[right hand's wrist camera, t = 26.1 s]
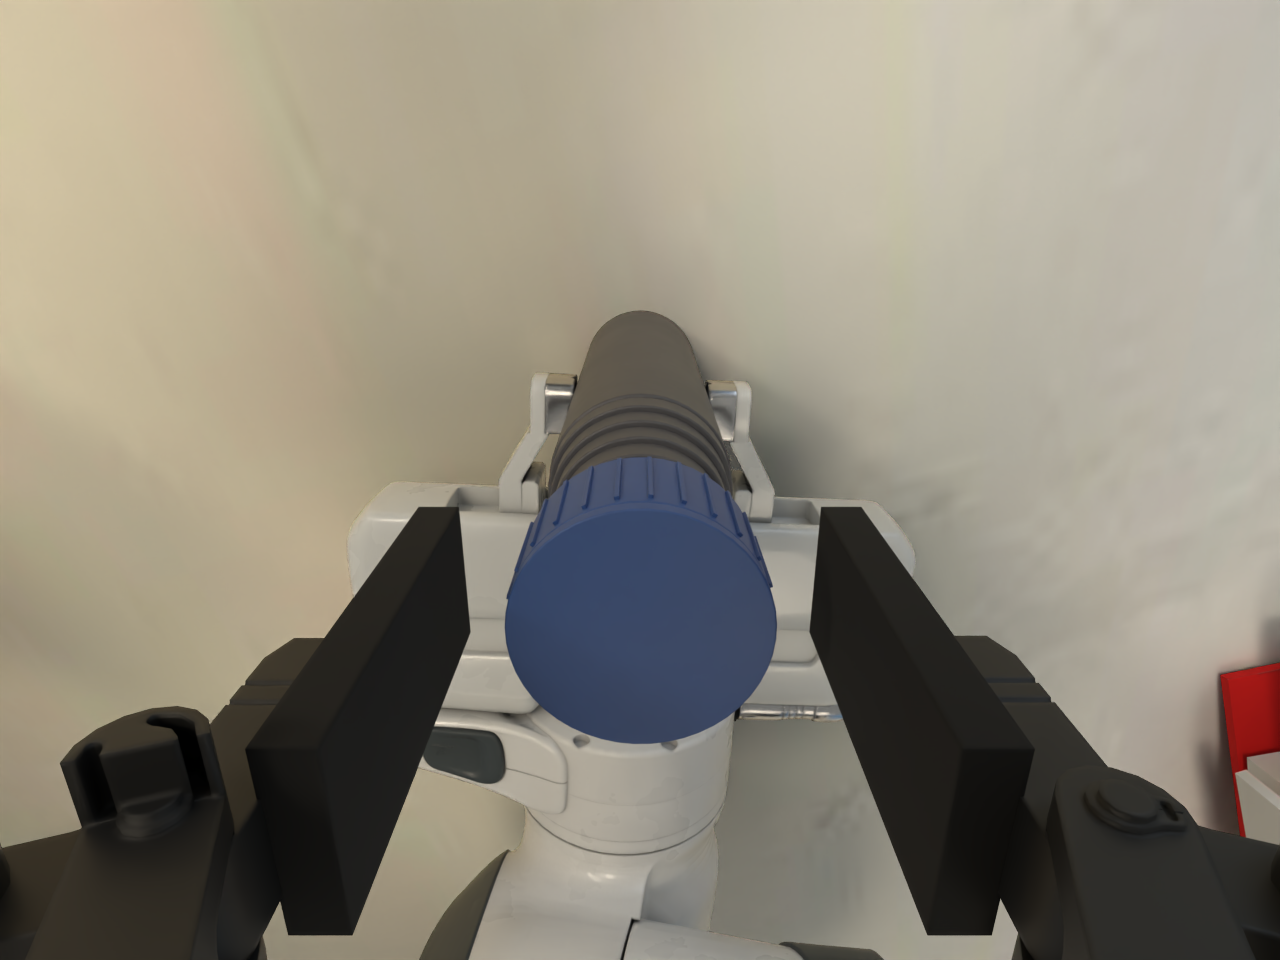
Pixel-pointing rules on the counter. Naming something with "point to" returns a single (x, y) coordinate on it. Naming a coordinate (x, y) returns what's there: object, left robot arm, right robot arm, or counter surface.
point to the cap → (640, 603)
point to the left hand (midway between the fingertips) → (640, 379)
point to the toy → (1255, 748)
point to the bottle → (640, 403)
